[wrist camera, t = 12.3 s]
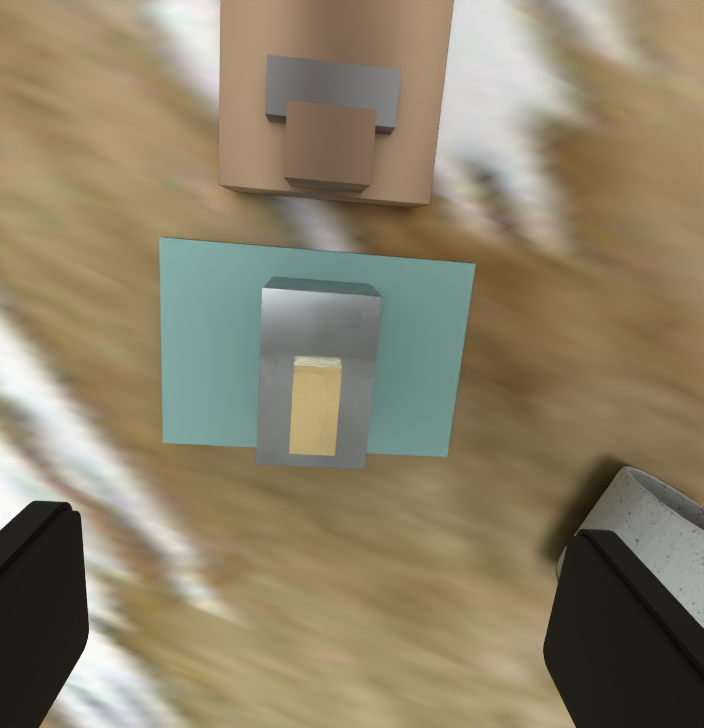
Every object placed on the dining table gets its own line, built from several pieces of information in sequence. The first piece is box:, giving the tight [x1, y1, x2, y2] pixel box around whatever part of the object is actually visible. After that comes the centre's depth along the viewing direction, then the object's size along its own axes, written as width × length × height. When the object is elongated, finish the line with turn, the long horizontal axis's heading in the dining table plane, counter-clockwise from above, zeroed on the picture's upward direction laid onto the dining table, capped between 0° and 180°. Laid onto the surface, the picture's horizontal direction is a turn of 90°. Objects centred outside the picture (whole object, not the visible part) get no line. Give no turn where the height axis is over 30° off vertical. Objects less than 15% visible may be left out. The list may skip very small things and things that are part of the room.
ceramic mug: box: [556, 466, 704, 628], centre depth 28 cm, size 11×8×8 cm
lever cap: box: [256, 276, 382, 470], centre depth 24 cm, size 5×8×6 cm, turn 175°
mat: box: [159, 237, 476, 457], centre depth 27 cm, size 16×11×1 cm
